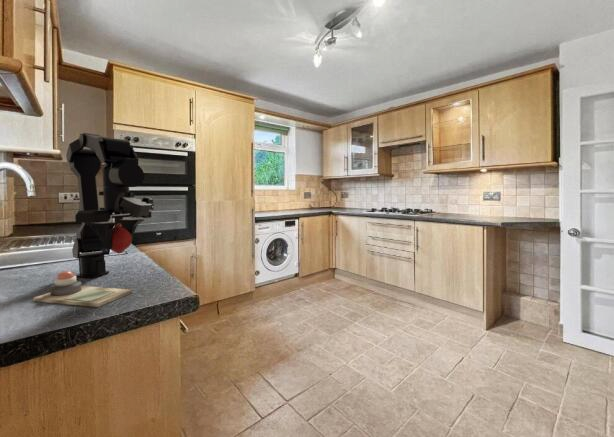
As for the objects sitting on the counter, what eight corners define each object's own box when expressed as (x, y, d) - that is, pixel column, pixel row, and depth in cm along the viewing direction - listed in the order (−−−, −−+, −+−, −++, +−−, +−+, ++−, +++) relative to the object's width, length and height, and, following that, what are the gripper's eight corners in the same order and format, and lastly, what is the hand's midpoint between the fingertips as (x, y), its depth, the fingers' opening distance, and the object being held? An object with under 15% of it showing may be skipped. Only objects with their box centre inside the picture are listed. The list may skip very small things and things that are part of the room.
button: (50, 286, 72) (49, 272, 72) (67, 281, 76) (66, 268, 76) (64, 287, 71) (63, 273, 71) (80, 282, 75) (80, 269, 75)
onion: (120, 256, 74) (118, 224, 73) (100, 255, 75) (98, 224, 74) (137, 251, 80) (136, 222, 79) (118, 251, 81) (117, 222, 80)
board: (33, 301, 70) (32, 289, 69) (74, 288, 79) (73, 278, 79) (97, 306, 66) (97, 294, 66) (132, 292, 76) (131, 282, 76)
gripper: (114, 186, 65) (117, 255, 66) (167, 188, 84) (169, 242, 85) (71, 186, 67) (75, 253, 68) (132, 188, 86) (134, 241, 87)
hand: (118, 247), depth 77 cm, fingers closed on onion, 6 cm apart
